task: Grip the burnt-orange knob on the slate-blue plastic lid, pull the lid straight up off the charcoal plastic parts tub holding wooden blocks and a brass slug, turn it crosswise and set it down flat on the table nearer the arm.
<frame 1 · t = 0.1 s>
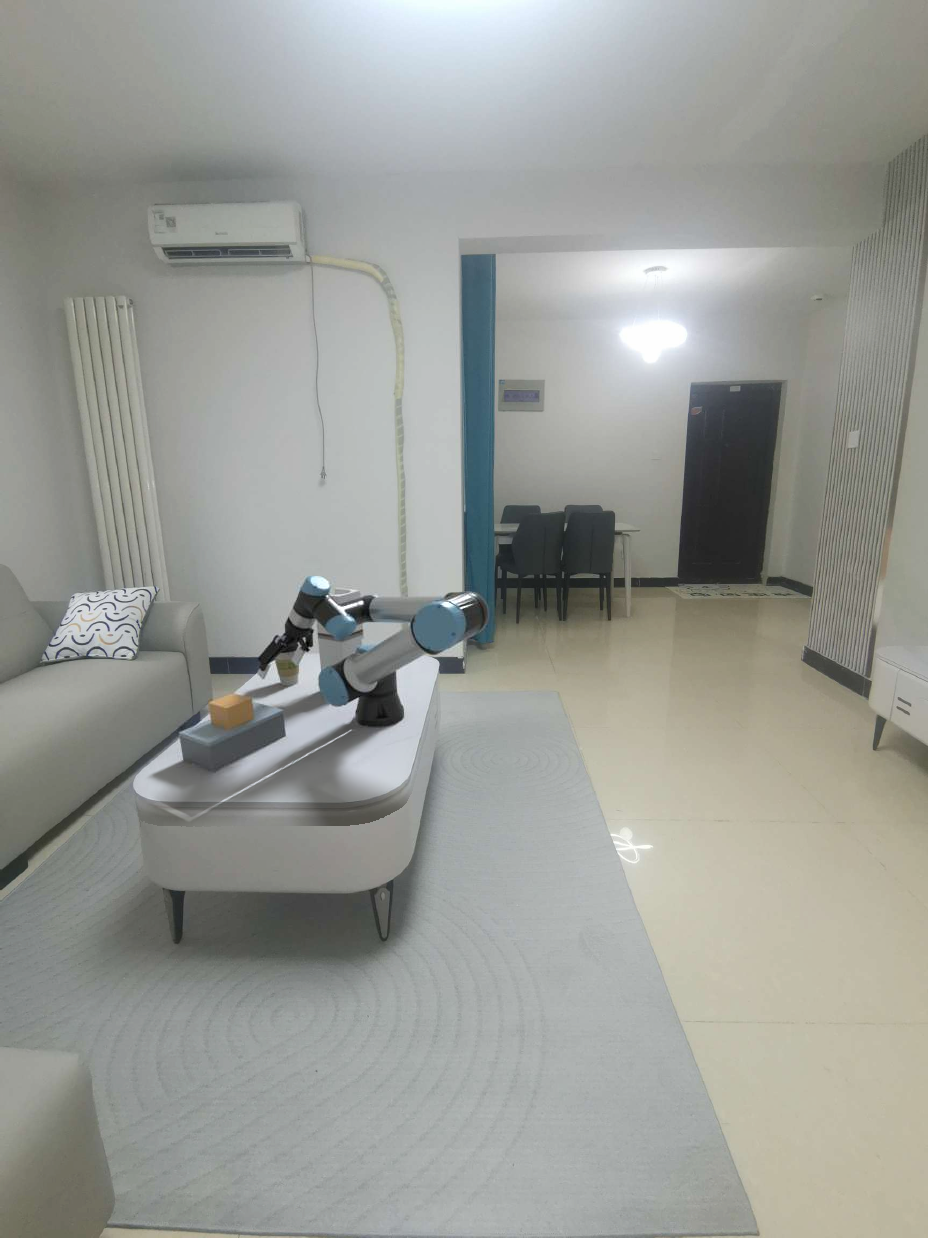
hand: (278, 669, 185), 15 cm above the table, tool tilted 35°, fingers open, 13 cm apart
tall white vase: (345, 688, 210), on the table
tub: (236, 750, 165), on the table
coffee cup: (289, 683, 217), on the table
lid: (233, 724, 163), point 8 cm above the table, touching tub
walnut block: (214, 758, 159), point 1 cm above the table, touching tub
brass slug: (236, 747, 165), point 1 cm above the table, touching tub
pale wood block: (257, 738, 171), point 1 cm above the table, touching tub
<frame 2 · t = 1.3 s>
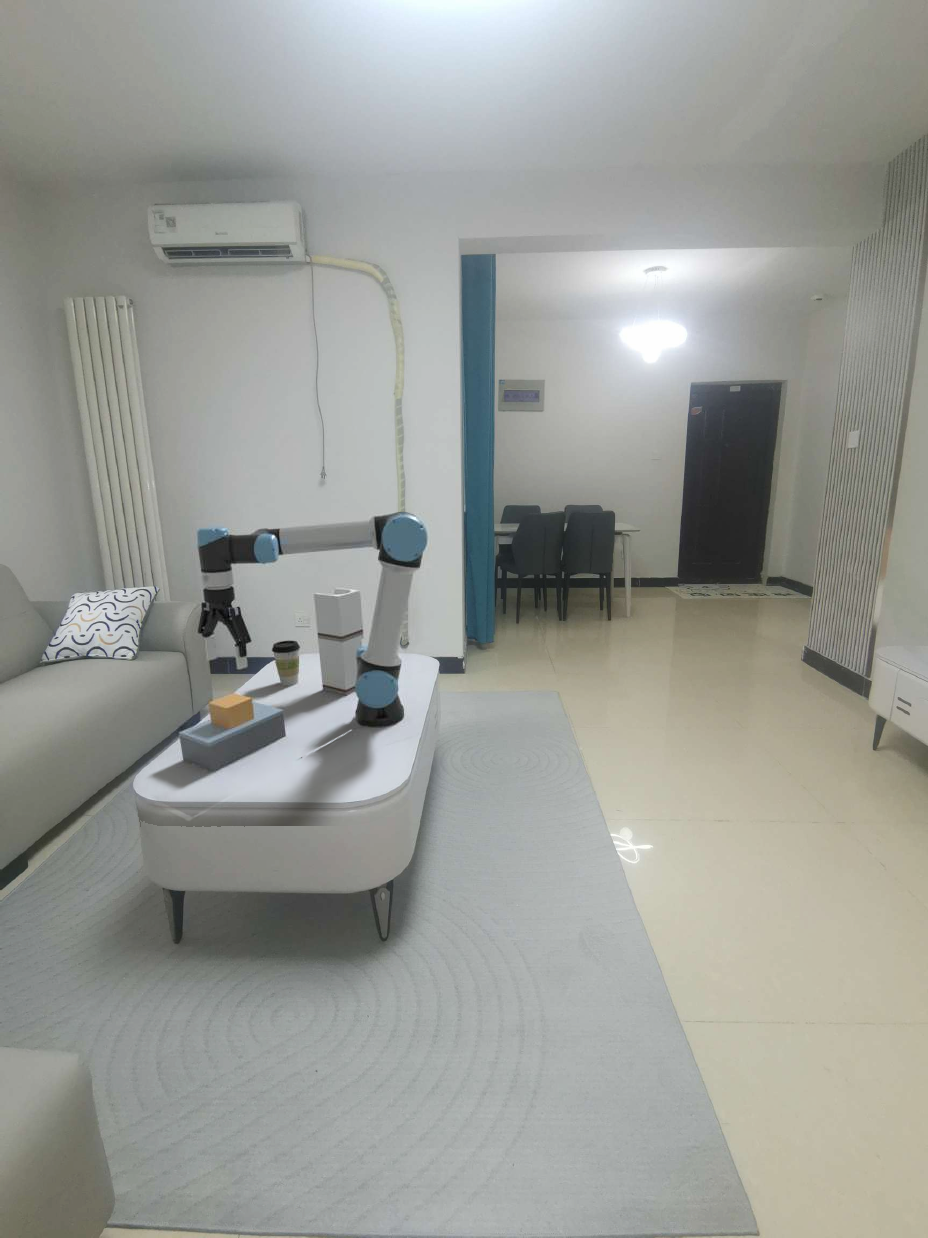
hand: (226, 663, 160), 25 cm above the table, tool pointing down, fingers open, 13 cm apart
nothing on the table moved.
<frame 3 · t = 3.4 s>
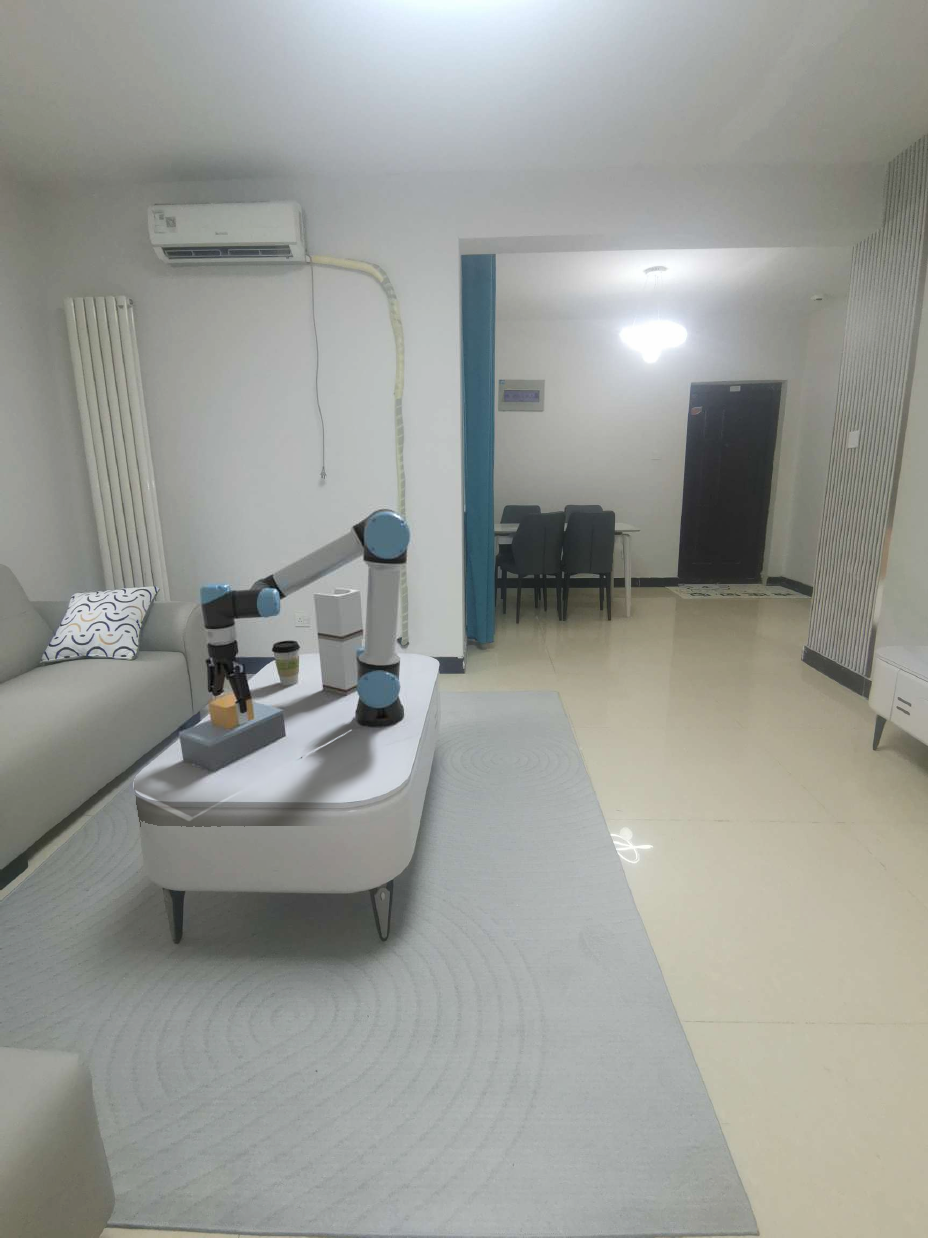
hand: (232, 719, 163), 9 cm above the table, tool pointing down, fingers closed on lid, 8 cm apart
lid: (233, 724, 163), point 8 cm above the table, touching gripper, tub
everything else where it was.
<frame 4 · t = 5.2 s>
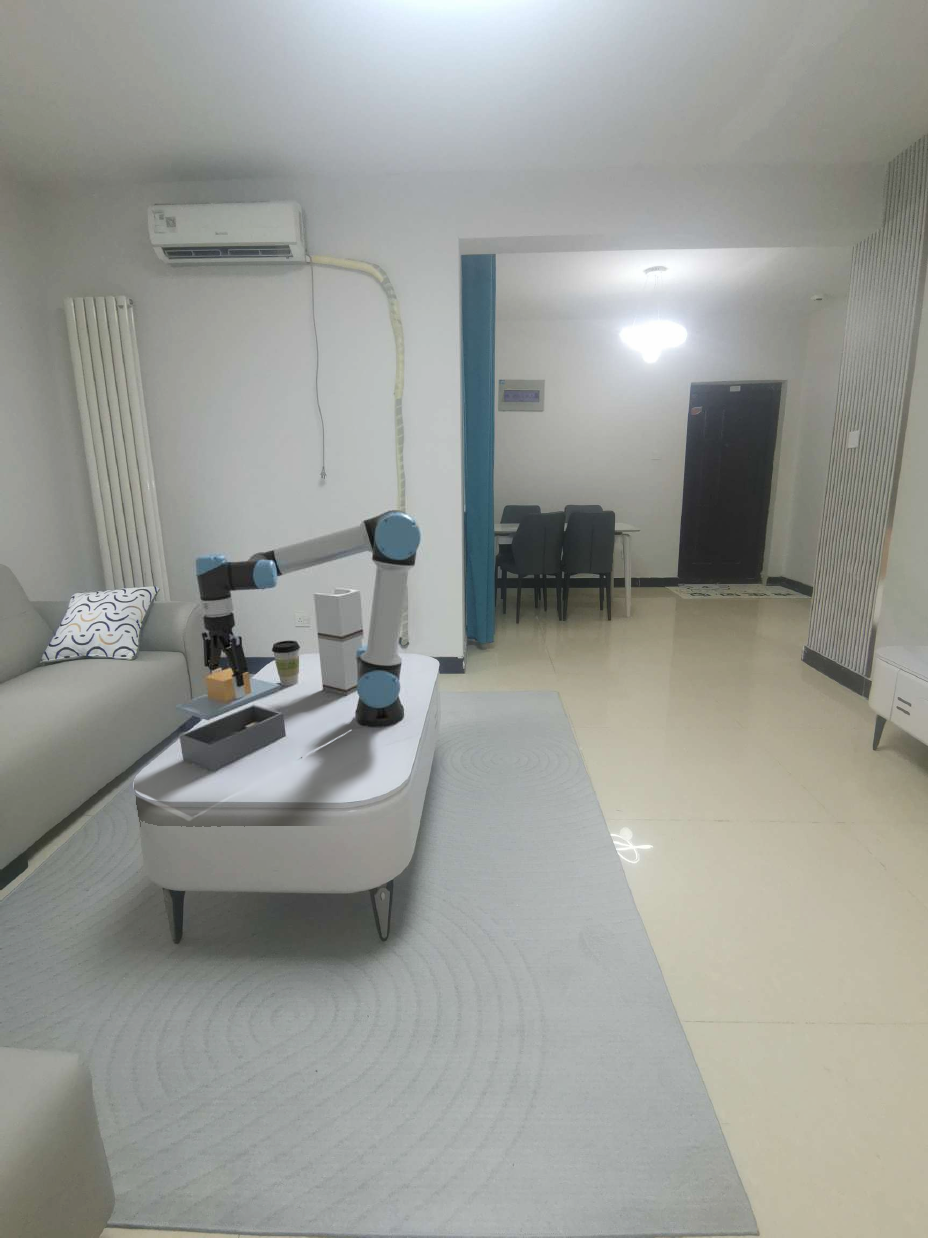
hand: (229, 694, 161), 17 cm above the table, tool pointing down, fingers closed on lid, 8 cm apart
lid: (230, 698, 161), point 16 cm above the table, touching gripper
everything else where it was.
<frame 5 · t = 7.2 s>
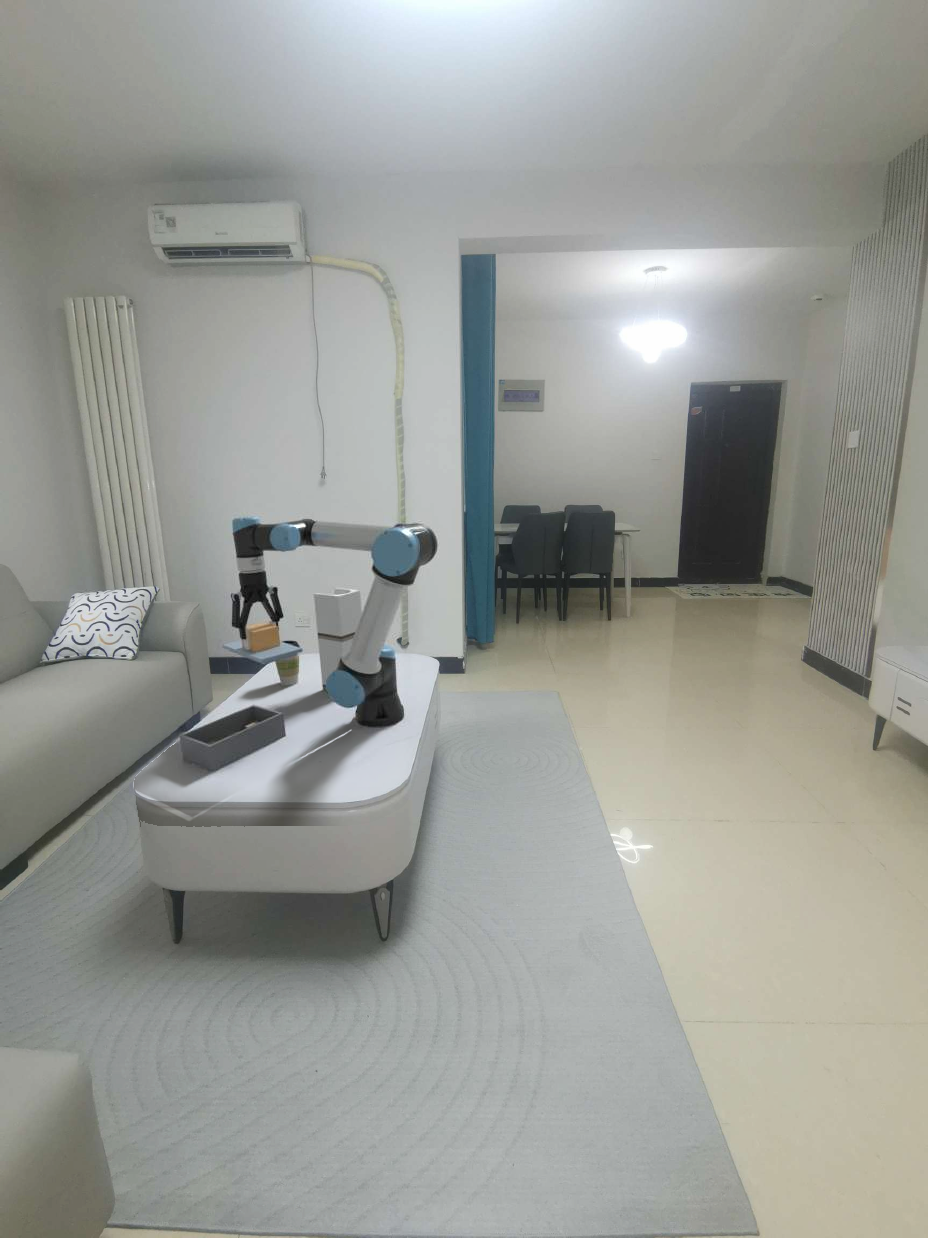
hand: (261, 645, 176), 25 cm above the table, tool pointing down, fingers closed on lid, 8 cm apart
lid: (261, 649, 177), point 24 cm above the table, touching gripper
everything else where it was.
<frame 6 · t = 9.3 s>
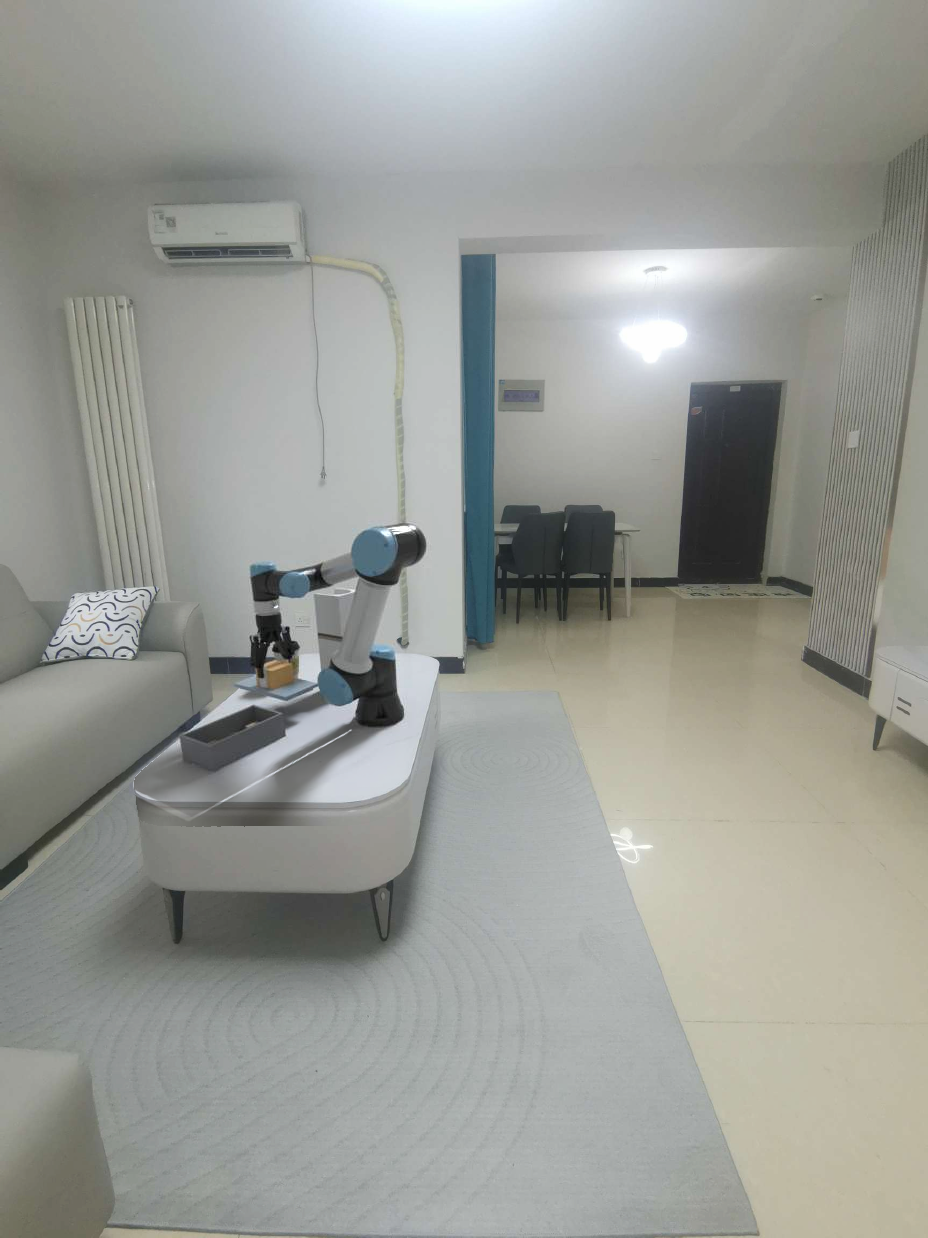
hand: (275, 682, 186), 11 cm above the table, tool pointing down, fingers closed on lid, 8 cm apart
lid: (276, 686, 186), point 10 cm above the table, touching gripper
everything else where it was.
when the fingers open (5 cm above the table, at t = 11.0 s): lid drops 3 cm, point 1 cm above the table.
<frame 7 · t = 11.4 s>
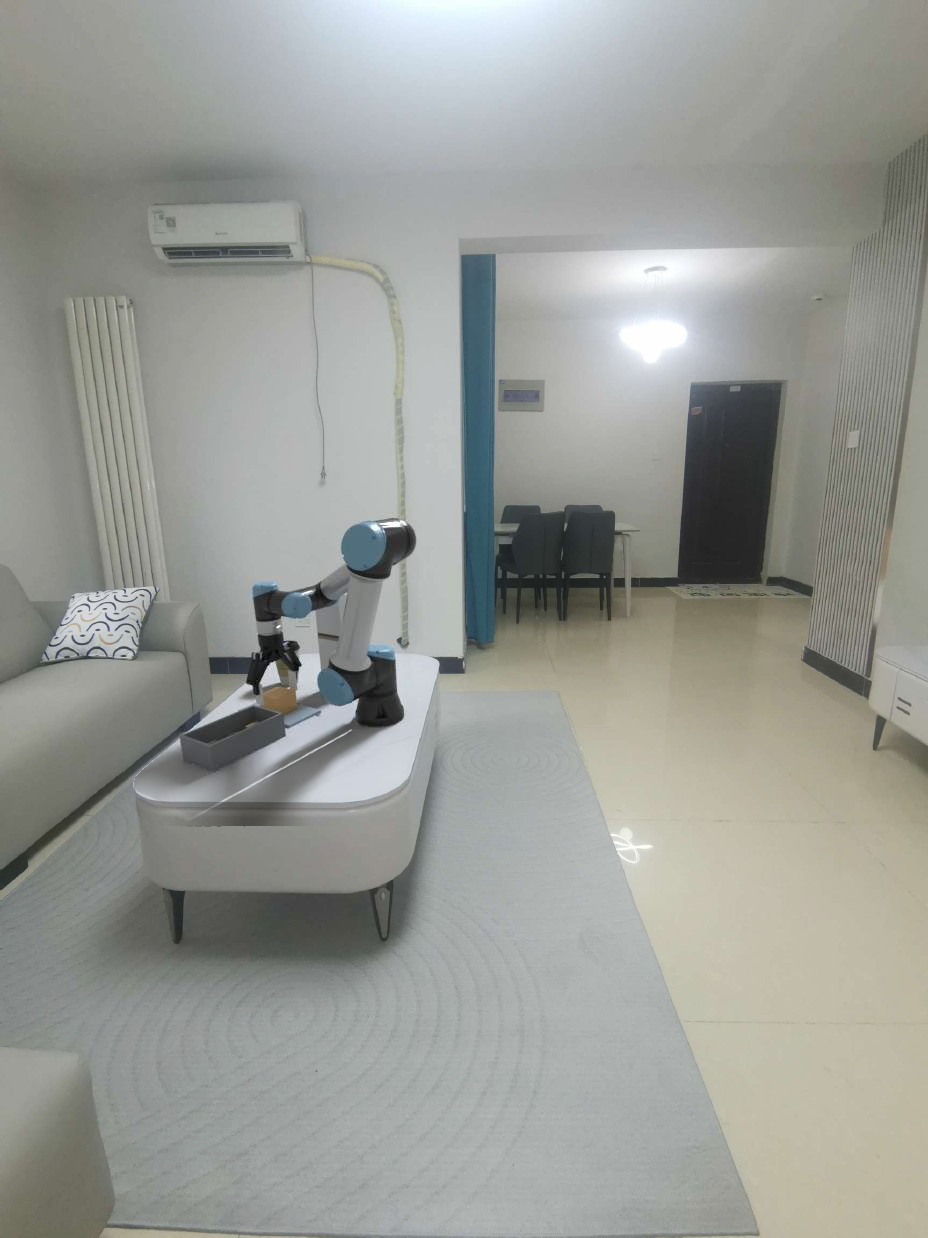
hand: (277, 696, 187), 6 cm above the table, tool pointing down, fingers open, 13 cm apart
lid: (279, 713, 188), point 1 cm above the table
everything else where it was.
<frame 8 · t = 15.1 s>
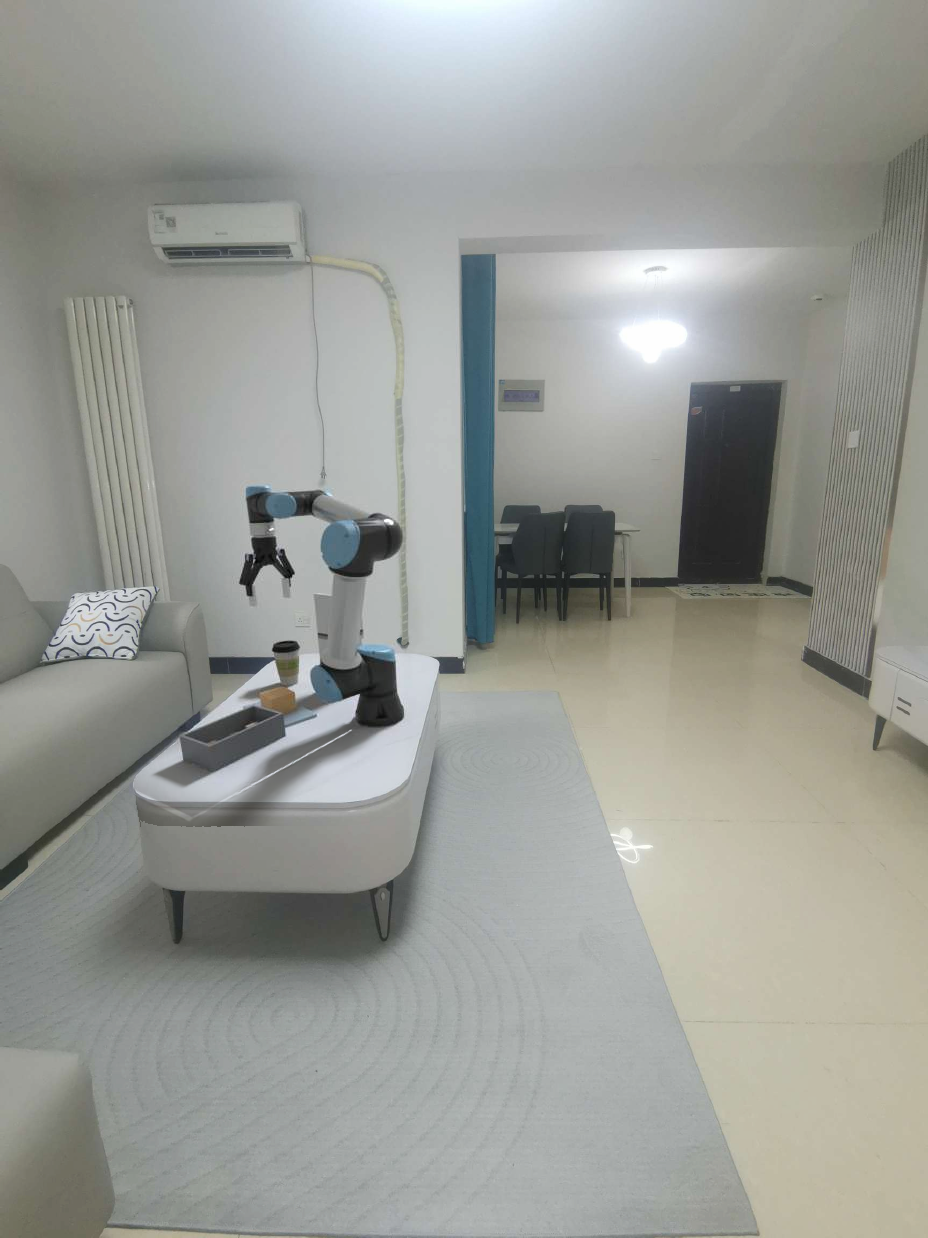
hand: (270, 601, 191), 35 cm above the table, tool pointing down, fingers open, 13 cm apart
at the end: lid inside the target area (0.0 cm from its centre), point 0.5 cm above the table; lid touching table; lid tilted 0° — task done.
